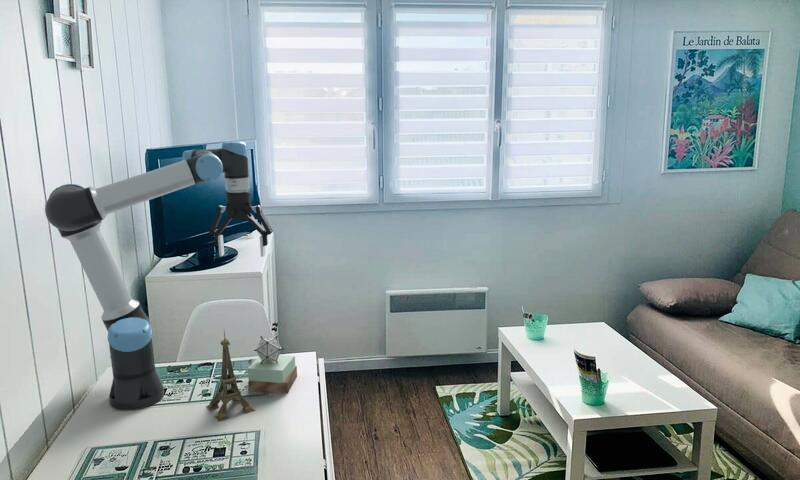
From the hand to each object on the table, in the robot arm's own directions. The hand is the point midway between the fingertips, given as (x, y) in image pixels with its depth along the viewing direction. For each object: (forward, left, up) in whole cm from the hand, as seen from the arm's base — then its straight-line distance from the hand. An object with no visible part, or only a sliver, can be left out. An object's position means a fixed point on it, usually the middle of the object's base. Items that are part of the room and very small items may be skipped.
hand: (242, 255), depth 211 cm
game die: (+12, -17, -29) cm, 36 cm away
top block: (+12, -17, -33) cm, 39 cm away
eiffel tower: (+4, -33, -37) cm, 50 cm away
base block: (+12, -17, -37) cm, 43 cm away
